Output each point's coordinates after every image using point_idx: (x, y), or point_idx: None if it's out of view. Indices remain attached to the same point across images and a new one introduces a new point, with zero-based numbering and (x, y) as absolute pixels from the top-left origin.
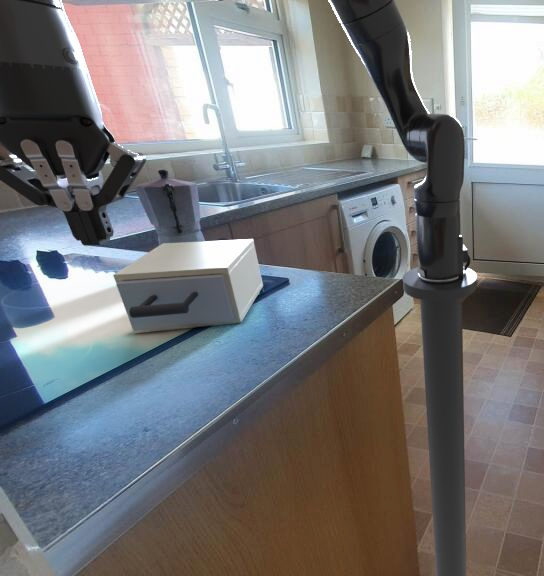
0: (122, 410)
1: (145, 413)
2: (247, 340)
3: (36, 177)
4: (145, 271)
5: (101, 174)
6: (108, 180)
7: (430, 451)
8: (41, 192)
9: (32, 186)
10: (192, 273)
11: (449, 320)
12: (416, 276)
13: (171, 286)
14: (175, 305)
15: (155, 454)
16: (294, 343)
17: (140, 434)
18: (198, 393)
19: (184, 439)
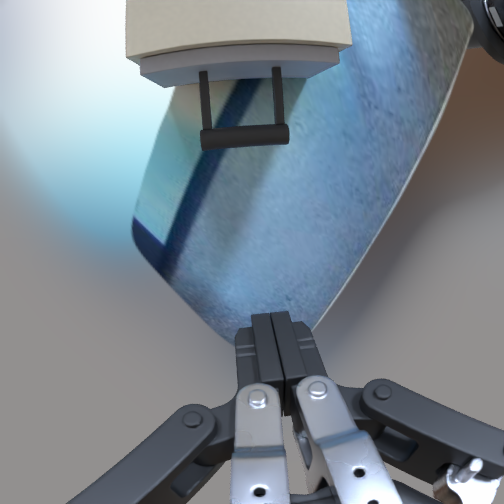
0: (251, 269)
1: (276, 276)
2: (338, 132)
3: (165, 485)
4: (182, 37)
5: (378, 455)
6: (401, 466)
7: None
8: (215, 469)
9: (200, 485)
10: (280, 42)
11: (474, 47)
12: (480, 1)
13: (238, 64)
14: (275, 140)
15: (307, 324)
16: (395, 159)
17: (286, 303)
18: (315, 252)
19: (322, 312)
